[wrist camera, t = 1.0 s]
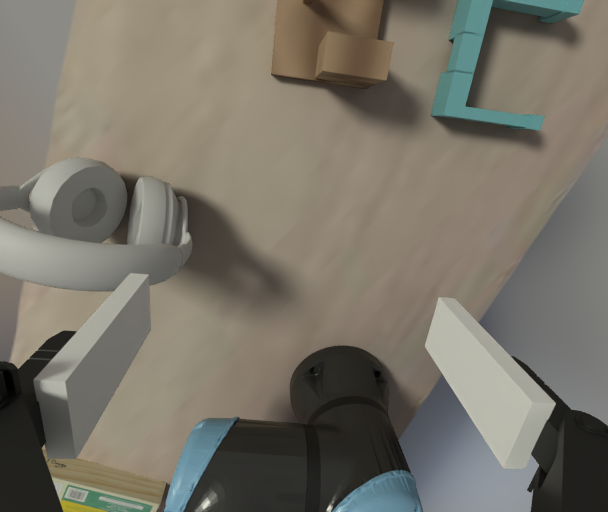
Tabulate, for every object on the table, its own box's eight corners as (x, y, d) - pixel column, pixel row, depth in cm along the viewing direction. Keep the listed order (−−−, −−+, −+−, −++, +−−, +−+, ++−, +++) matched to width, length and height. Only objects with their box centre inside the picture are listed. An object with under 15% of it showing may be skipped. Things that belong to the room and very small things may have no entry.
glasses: (556, 8, 40) (585, -4, 37) (518, 129, 45) (540, 130, 41) (460, -11, 39) (479, -24, 35) (430, 116, 43) (445, 116, 40)
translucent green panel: (-62, 414, 54) (-89, 517, 61) (-91, 440, 50) (-116, 547, 56) (171, 479, 62) (125, 563, 69) (163, 505, 58) (115, 592, 65)
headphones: (217, 186, 44) (175, 236, 26) (199, 260, 48) (151, 351, 29) (56, 137, 41) (-124, 154, 22) (48, 220, 44) (-114, 295, 26)
